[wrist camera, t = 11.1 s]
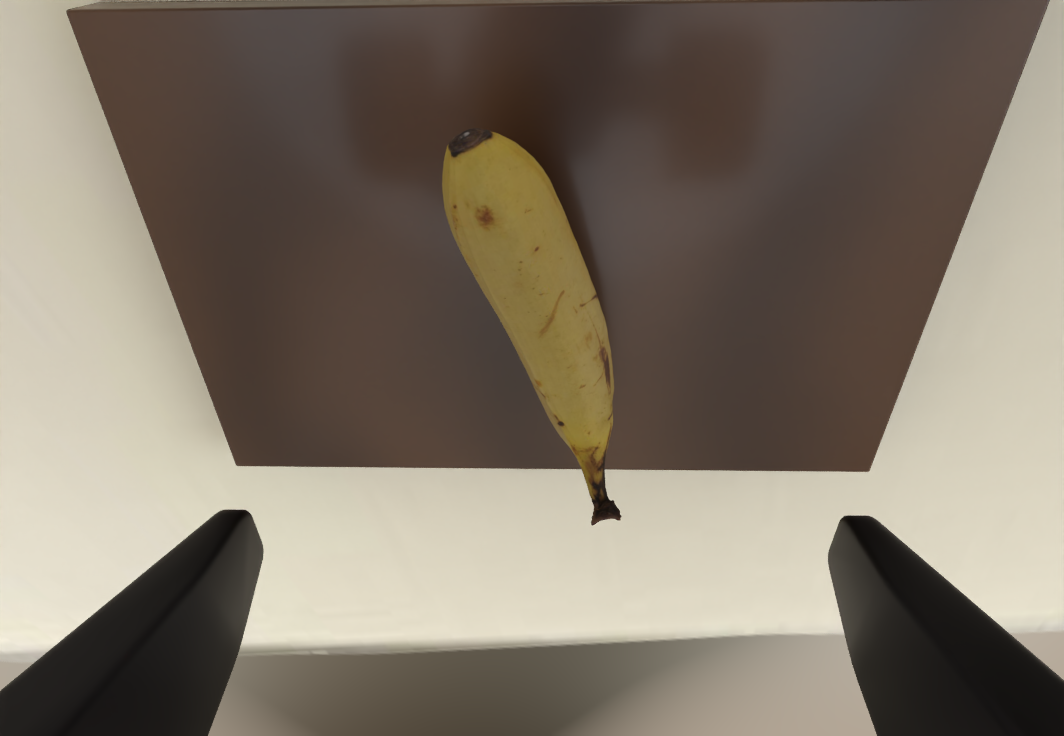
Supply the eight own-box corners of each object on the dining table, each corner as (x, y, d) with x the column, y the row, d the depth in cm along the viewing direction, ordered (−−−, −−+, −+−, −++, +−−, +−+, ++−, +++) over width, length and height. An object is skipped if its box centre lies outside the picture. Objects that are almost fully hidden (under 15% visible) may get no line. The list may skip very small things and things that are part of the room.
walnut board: (1018, -12, 14) (1053, -5, 13) (855, 446, 22) (869, 472, 21) (96, 2, 15) (63, 10, 14) (250, 441, 22) (235, 466, 21)
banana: (433, 102, 15) (398, 161, 11) (537, 68, 14) (532, 119, 11) (559, 435, 20) (559, 539, 17) (637, 418, 20) (653, 522, 16)
